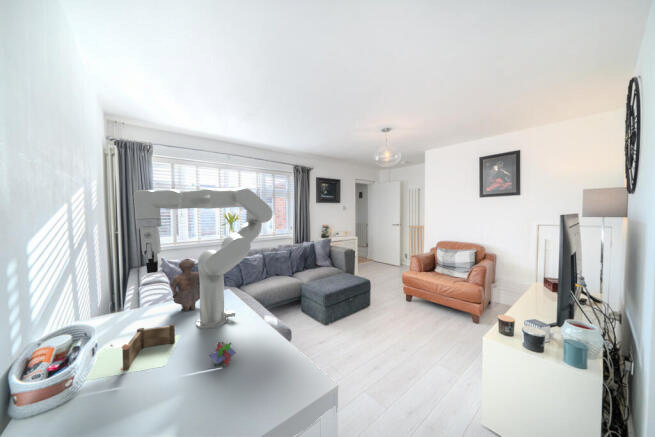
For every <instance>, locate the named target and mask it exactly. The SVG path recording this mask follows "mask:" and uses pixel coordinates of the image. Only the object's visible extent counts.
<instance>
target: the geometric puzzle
mask: <svg viewBox="0 0 655 437" xmlns="http://www.w3.org/2000/svg"><path fill="white" fill-rule="evenodd" d="M231 345H232V342H230V341H229V342H228V343H227V342H224V341H220V342H219V341H218V342H217V343H216V345H215V351H214V352H211V354H209V355H208V356H209V358H210V359H211V360H213V362H214V366H215V367H216V366H217V365H220V363H222V362H223V363H224V364H225V365H223V364H222V367H225V366H226V367H229V366H230V365H229V364H230V360H231V357H233V356H235V355H236V354H237V353H236V351H235V349H234V348H232V346H231Z"/></svg>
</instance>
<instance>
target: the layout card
mask: <svg viewBox="0 0 655 437" xmlns="http://www.w3.org/2000/svg"><path fill="white" fill-rule="evenodd" d="M181 336H182V334H175V343H174V344H170V343H168V344H162V345H156V346H149V347H144V348H143V349H141V350H140V351H139V353H138V354H137V356H136V357H135V359H134V360H133V362H132V363H131V365H130V368H129V369H127V370H123V352H122V346H121V347H118V348H117V347H116V348H113V347H112V348H108V347H107V348H108V349H107V348H105V347H104V348H103V349H102V350H101V351H100V352H99V353H98V354H97V355H96V356H97V360H96V363H95V365H94V367H93V369H92V370H91V372H90V373H89V375H88V376H87V378H86V379H85V381H91V380H96V379H97V380H98V379H103V378H107V377H113V376H118V375H119V376H120V375H124V374H125V375H126V374H129V373H136V372H141V371H147V370H153V369H156V368H158V369H159V368H163V367H164V368H165V367H166V364H167V363H168V361H169V359H170V356H171V355H172V353H173V351H174V349H175V348H176V346H177V343H178V342H179V340H180V338H181ZM85 381H84V382H85Z"/></svg>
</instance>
